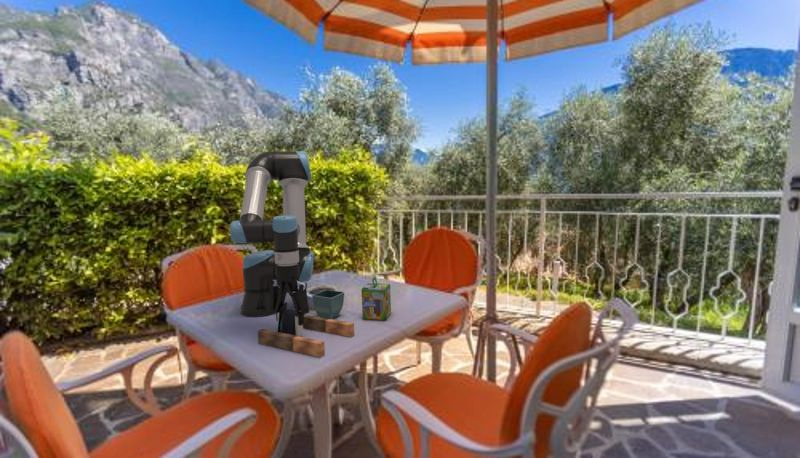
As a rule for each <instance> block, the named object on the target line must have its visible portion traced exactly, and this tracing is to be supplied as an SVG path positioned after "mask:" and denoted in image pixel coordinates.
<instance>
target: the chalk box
mask: <svg viewBox="0 0 800 458" xmlns="http://www.w3.org/2000/svg"><path fill="white" fill-rule="evenodd" d="M371 280H372V282H370V283H367V284H366V285H364V286H363V287H362V288H361V304H362V306H361V307H362V311H361V312H362V320H372V321H373V320H375V321H387V320H388V318H389V317H390V316H391V313H392V306H391V305H392V303H391V300H392V299H391V284H389V283H379V282H378V281H377V277H376V275H375V276H373V277H372V279H371Z"/></svg>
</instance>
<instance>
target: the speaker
mask: <svg viewBox="0 0 800 458" xmlns="http://www.w3.org/2000/svg"><path fill="white" fill-rule="evenodd" d="M287 305H288V302H284V304H283V305H282V306H281V307H280V312H279V322H278V321H277V332H280V333H285V334H290V335H295V336H296V329H295V315H297V314H296V310H295V308H293V309H292V308H289V309H287Z"/></svg>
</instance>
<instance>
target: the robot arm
mask: <svg viewBox="0 0 800 458" xmlns="http://www.w3.org/2000/svg"><path fill="white" fill-rule="evenodd" d="M311 174H312V173H311V166H310V161H309V155H308V153H307V152H305V151H301V150H300V151H297V150H293V151H292V150H291V151H290V150H289V151H286V150H284V151H282V150H279V151H278V150H277V151H273V150H271V151H270V150H269V151H265V152H261V153H259V154H258V155H257V156H255V157H254V158H253V159H252V160H251V161H250V162H249V163H248V165H247V166H246V170H245V174H244V176H245V180H246V184H245V189H244V195H243V200H242V205H241V210H240V216H239V220H238V219H237V220H233V221H232V222H231V223H230V227H229V236H230V239H231V241H232V242H233V243H235V244H255V243H273V246H274V247H273V248H274V250H272V249H270V250H267V249H265V250H260V251H255V252H251V253H248V254H246V255H244V257H243V258H242V277H243V290H244V294H243V297H242V303H241V306H240V314H241V315H242V316H245V317H253V318H254V317H264V316H266V317H267V316H270V315H273V314H275V319H276V322H277V323H278V322H279V312H280V307H281V306H282V305H283V304H284V303H285V301H286V297H287V294H288V295H289V296H290V297H291V300H292V304H293V307H294V310H296V314H297V315H295V329H296V336H300V335H303V334H304V328H303V324H304V315H307V314H308V313H310V308H309V299H308V292H307V288H308V284H307V282H309V281H310V280H312V276H313V271H314V270H313V269H314V258H315V257H314V256H315V254H314V252H312V251H311V247H309V246H308V245H307V237H306V236H307V233H306V199H305V198H306V197H305V187H306V186H308V184H309V180H312V175H311ZM276 180H277V181H278V185H280V186H281V187H282V211H283V213H282V214H283V215H277V216H274V217H273V219H264V214H265V208H266V207H265V206H266V197H267V191H268V185H269V184H270V182H271V181H276Z"/></svg>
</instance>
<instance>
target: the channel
mask: <svg viewBox="0 0 800 458" xmlns="http://www.w3.org/2000/svg"><path fill="white" fill-rule="evenodd" d="M303 329H305V330H306V329H307V330H311V331H315V332H316V331H317V332H323V333H327V334H333V335H337V336H343V337H349V338H352V337H353V336H355V323H354V322H348V321H342V320H338V319H333V318H332V319H326V318H321V317H319V316H314V315H309V314H304V324H303ZM257 337H258V344H260V345H264V346H269V347H274V348H278V349H281V350H285V351H291V352H295V353H298V354H299V353H300V354H303V355H304V354H305V355H308V356H311V357H312V356H313V357H317V358H322V357H324V356H325V355H326V354H325V353H326V352H325V351H326V350H325V349H326V348H325V341H323V340H319V339H314V338H308V337H304V336H300V335H299V336H295V335H290V334H285V333H280V332H278V331H275V330H270V329H265V328H262V329H259V330H258V331H257Z"/></svg>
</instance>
